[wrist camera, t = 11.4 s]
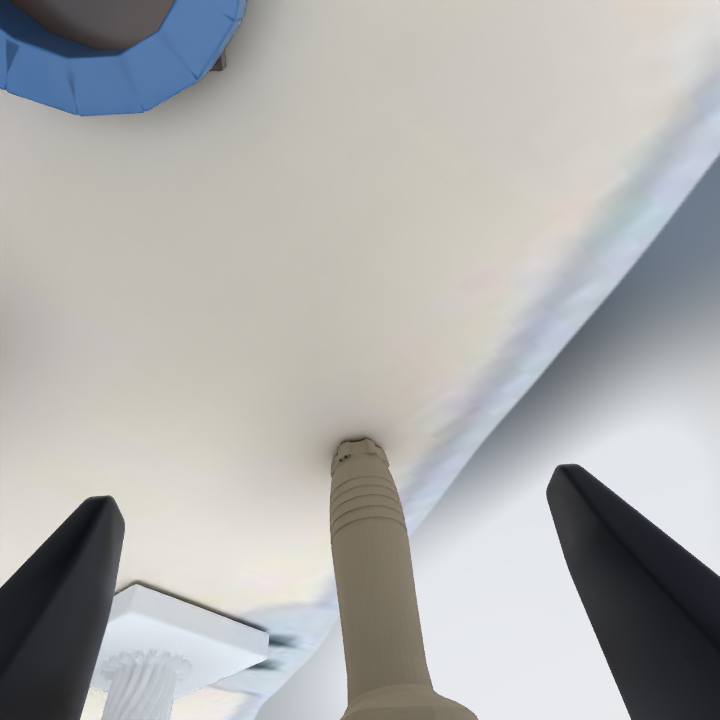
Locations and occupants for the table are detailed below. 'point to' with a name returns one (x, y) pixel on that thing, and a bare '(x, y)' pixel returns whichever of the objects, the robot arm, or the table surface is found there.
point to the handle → (379, 595)
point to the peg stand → (102, 21)
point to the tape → (114, 60)
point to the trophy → (167, 653)
